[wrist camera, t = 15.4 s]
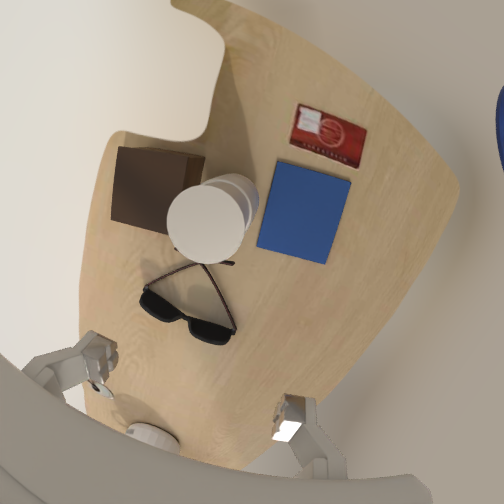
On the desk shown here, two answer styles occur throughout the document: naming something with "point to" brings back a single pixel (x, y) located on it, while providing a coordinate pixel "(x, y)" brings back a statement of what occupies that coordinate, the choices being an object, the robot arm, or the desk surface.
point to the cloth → (302, 212)
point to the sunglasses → (196, 326)
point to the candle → (212, 218)
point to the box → (151, 184)
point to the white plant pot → (153, 437)
